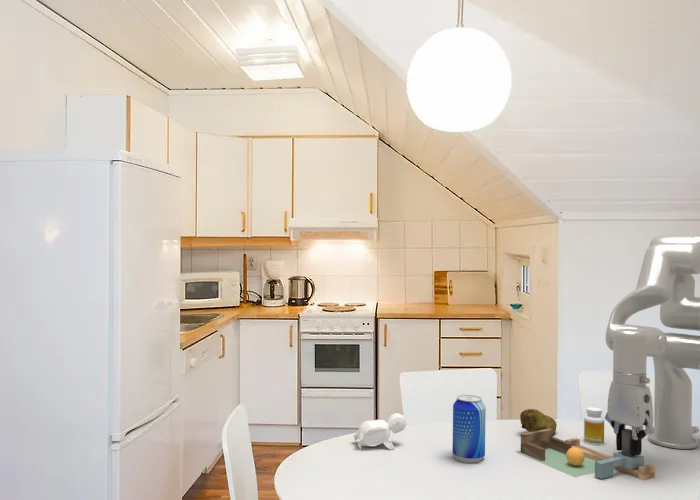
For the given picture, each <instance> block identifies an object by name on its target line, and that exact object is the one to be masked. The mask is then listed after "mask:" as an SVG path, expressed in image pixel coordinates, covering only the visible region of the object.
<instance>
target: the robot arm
mask: <svg viewBox="0 0 700 500" xmlns="http://www.w3.org/2000/svg"><path fill="white" fill-rule="evenodd" d="M699 274H700V234H686V235H683V234H671V235H670V234H669V235H659V236H657V237H654V238H652V239H651V240H650V242H649V246H648V248H647V249H646V250H645V254H644V256H643V261H642V263H641V269H640V272H639V276H638V280H637V283H636V287H635V289H634V290H633V291H631V292H630V293H628V294H627V295H626V296H624V297H623V298H622V299H620V301H619V302H618V303H617V304H616V305H615V306H614V307H613V309H612V311H611V313H610V316H609V320H608V324H607V326H606V331H605V343H606V346H607V347H608V348H609V350H611V351H613V352H612V362H613V363H612V381H611V382H610V384H609V385H610V386H609V391H608V398H607V412H606V414H605V415H604V420H606V422H607V423H608V424H610V426H611V427H612V429H613V433H614V434H615V439H616V440H615V441H616V442H615V445H616V446H615V447H616V451H617V452H621V451H622V429H627V428H626V426H629V427H631V430H632V435H633V439H631V440H630V454H631V455H632V456H635V455H642V449H643V447H642V446H643V443H642V441H643V440H644V438H645V437H647V438H648V440H649V441H650V442H652V443H653V444H655V445H658V446H661V447H665V448H670V449H679V450H690V449H691V450H693V449H696V448H697V447H698V445H699V443H698V442H699V441H698V440H697V439H695V438H694V437H693V435H694V434H698V433H699V432H700V428H699V427H698V426H696V425H695V426H693V425H692V424H693V422H692V421H693V420H692V418H693V384H692V380H691V378H690V376H689V375H688V373H687V372H686V371H685V369H691V370H699V371H700V335H695V334H688V333H678V332H677V333H676V332H664V331H663V330H662V329H660V328H657V327H652V326H643V325H642V326H641V325H635V324H626V322H627V321H628V320H629V318H630V317H632V316H633V315H635V314H637V313H639V312H641V311H644V310H647V309H650V308H653V307H656V306H660V307H659V318H660V319H659V320H660V323H661V324H662V325H663V326H665V327H666V328H671V329H677V330H686V331H695V332H696V331H697V332H698V331H699V332H700V296H695V291H696V290H695V288H696V280H695V277H694V276H693V275H699ZM647 357H651V358H652V361H653V369H654V370H653V371H654V396H653V397H654V400H653V398H652V392H651V389H650V386H649V384H650V383H651V379H650V378H649V377H647ZM647 384H648V385H647ZM653 401H654V405H653ZM653 406H654V407H653ZM644 427H645V428H644Z"/></svg>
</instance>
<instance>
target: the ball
mask: <svg viewBox="0 0 700 500" xmlns="http://www.w3.org/2000/svg"><path fill="white" fill-rule="evenodd" d="M566 458H567V461H568V462H569V463H570V464H571V465H574V466H579V465H581V464H582V463H583V462H584V458H585V457H584V454H583V452H582V451H581V450H580V449H578V448H570V449H569V450H568V451H567V453H566Z"/></svg>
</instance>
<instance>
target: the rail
mask: <svg viewBox="0 0 700 500" xmlns="http://www.w3.org/2000/svg"><path fill="white" fill-rule="evenodd" d="M564 441H566V442H569V443H571V444H572V448H578V449H580V450H581V451H582V452H583V454H584V458H585V459H588V460H591V461H593V462H595V461H599V460H604V459H610V458H613V456H611V455H609V454H606V453H603V452H601V451H599V450H598V451H597V450H595V449H592V448H588V447H586V446H584V445H582V444H581V438H578V437H575V438H574V437H573V438H569V439H565V440H564ZM614 469H615V470H617V471H619V472H622V473H625V474H627V475H630V476H632V477H635V478H638V479H639V480H642V481H646V480H647V481H648V480H649V479H654V478H656V475H655V474H656V466H655V464H652V463H649V464H644V466H640V467H638V468H635V469H628V468H626V467H623V466H616V467H613V470H614Z"/></svg>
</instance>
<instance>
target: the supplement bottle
mask: <svg viewBox="0 0 700 500" xmlns="http://www.w3.org/2000/svg"><path fill="white" fill-rule="evenodd" d="M602 412H603V410H602V409H601V408H599V407H593V406H592V407H591V406H590V407H587V408H586V415H584V417H583V441H584V443H586V444H588V445H593V446H603V445H604V444H605V417H603V416H602V414H603V413H602Z"/></svg>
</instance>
